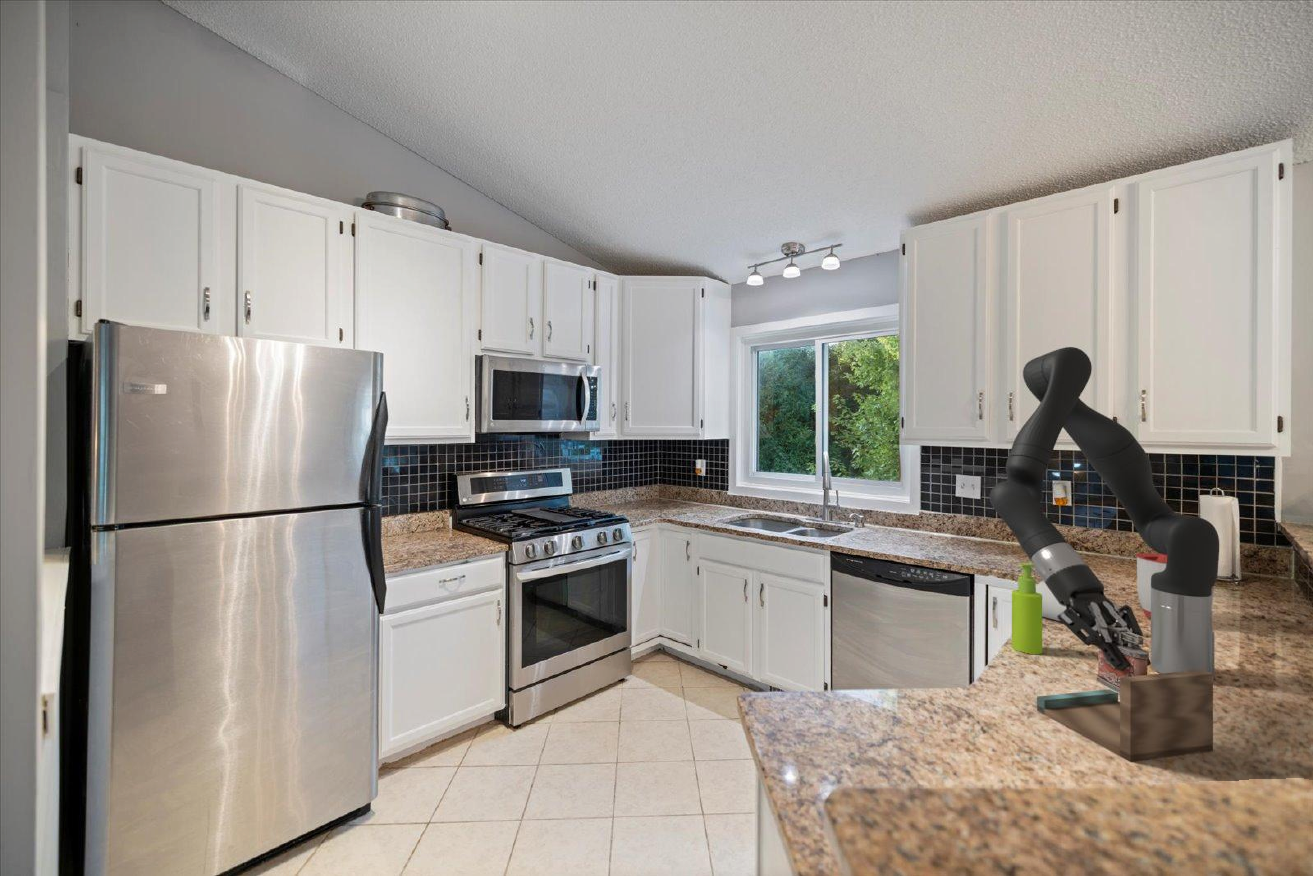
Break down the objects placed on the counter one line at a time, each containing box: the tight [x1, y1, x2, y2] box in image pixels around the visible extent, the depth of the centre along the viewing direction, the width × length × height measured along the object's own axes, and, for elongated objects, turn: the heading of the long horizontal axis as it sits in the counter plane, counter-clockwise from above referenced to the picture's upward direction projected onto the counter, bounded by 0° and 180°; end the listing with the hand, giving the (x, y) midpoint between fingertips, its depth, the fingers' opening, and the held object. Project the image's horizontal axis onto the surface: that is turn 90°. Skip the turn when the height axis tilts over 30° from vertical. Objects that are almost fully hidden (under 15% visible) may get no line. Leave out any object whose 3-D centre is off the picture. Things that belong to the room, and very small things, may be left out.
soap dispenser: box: [1011, 562, 1043, 655], centre depth 127 cm, size 6×7×20 cm
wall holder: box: [1036, 670, 1214, 763], centre depth 92 cm, size 16×16×12 cm
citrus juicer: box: [1135, 552, 1214, 619], centre depth 148 cm, size 16×17×20 cm
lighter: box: [1096, 625, 1150, 694], centre depth 90 cm, size 8×3×10 cm, turn 5°
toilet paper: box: [1036, 580, 1066, 623], centre depth 148 cm, size 10×10×10 cm
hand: (1134, 667), depth 88 cm, fingers closed on lighter, 3 cm apart
